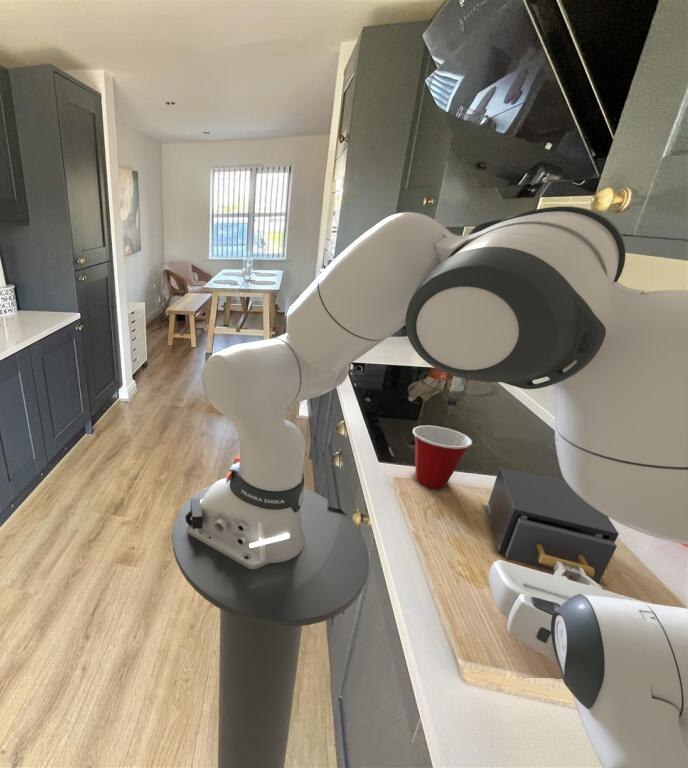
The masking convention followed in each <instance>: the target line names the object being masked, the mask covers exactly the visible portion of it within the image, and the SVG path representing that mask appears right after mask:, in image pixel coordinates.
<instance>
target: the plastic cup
mask: <svg viewBox="0 0 688 768" xmlns="http://www.w3.org/2000/svg"><path fill="white" fill-rule="evenodd" d="M412 434H413V437H414V446H415V447H414V449H415V451H414V455H415V456H414V465H415V472H414V473H415V479H416V481H417V482H418V483H419V484H420V485H422V486H424V487H426V488H430V489H433V490H434V489H437V490H439V489H443V488H445V487H446V485H447V484H448V482H449V481H450V480H451V479H450V478H451V476H453V474H454V472H455V470H456V468H457V466H458V465H459V463H460V461H461V459H462V458H463V456H464V454H465V452H466V451H467V450H468V449H469V447H471V446H472V445H473V440H472V439H471V438H470V437H469V436H468V435H466V434H464V433H462V432H460V431H457V430H454V429H452V428H447V427H442V426H438V425H429V424H427V425H426V424H425V425H418V426H416V427H413V429H412Z"/></svg>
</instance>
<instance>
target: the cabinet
mask: <svg viewBox="0 0 688 768" xmlns="http://www.w3.org/2000/svg"><path fill="white" fill-rule="evenodd" d="M486 509H487V514H488V517H489V521H490V526H491V528H492V529H491V530H492V532H493V536H494V540H495V544H496V548H497V552H498V553H499V554H501V555H505V554H506V551H507V548H508V542H509V539H510V537H511V534H512V531H513V528H514V526H515V523H516V520H517V517H518V515H519V514H521V515H525V516H529V517H533V518H537V519H541V520H545V521H550V522H554V523H558V524H562V525H566V526H570V527H574V528H579V529H583V530H587V531H591V532H595V533H599V534H603V537H602V539H606V540H610V541H614V543H615V544H616V541H617V539H618V536H619V531H617V529H616V527H615V526H614V523H613V522H612V521H611V518H609V517H607V516H606V515H604V514H602V513H601V512H599V511H598V510H596V509H595V508H593V507H592V506H590V505H589V504H588V503H586V502H585V501H584V500H583V499H582V498H581V497H579V496H578V495H577V494H576V493H575V492H574V491H573V490H572V488H571V487H570V486H569V485H568V483H567V482H566V481H565V479H559V478H555V477H549V476H544V475H540V474H536V473H535V474H534V473H530V472H525V471H519V470H515V469H510V468H504V467H499V469H498V471H497V475H496V478H495V480H494V483H493V486H492V490H491V493H490V496H489V500H488V502H487V505H486Z"/></svg>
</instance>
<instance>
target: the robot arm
mask: <svg viewBox="0 0 688 768" xmlns="http://www.w3.org/2000/svg"><path fill="white" fill-rule="evenodd" d="M625 262H626V245H625V241H624V238H623V235H622V232H621V231H620V230H619V228H618V227H617V225H616V224H615V223H614V221H611V220H610V219H609V218H608V217H607V216H605V215H603V214H601V213H600V212H597V211H596V210H595V211H594V210H593V209H588V208H585V207H579V206H570V205H569V206H568V205H567V206H566V205H565V206H563V205H562V206H561V205H560V206H551V207H542V208H537V209H531V210H528V211H524V212H521V213H517V214H513V215H510V216H507V217H503V218H499V219H494V220H491V221H487V222H483V223H480V224H478V225H476V226H475V227H474V228H473V229H471V231H469V233H468V234H467V235H466V234H465V235H457V234H454V233H453V232H451V231H450V230H449V229H447V227H446V226H444V225H443V224H442V223H440V222H439V221H438V220H436V219H435V218H433V217H431V216H430V215H429V216H428V215H426V214H423V213H420V212H412V211H405V212H399V213H395V214H392V215H389V216H387V217H385V218H384V219H382V220H381V221H379V222H378V223H376V224H375V225H374V226H372V227H371V228H369V229H368V230H367V231H364V233H363V234H361V235H360V236H359V237H358V238H356V239H355V240H354V241H353V242H352V243H351V244H349V245H348V246H347V247H346V248H345V249H344V250H342V252H341V253H339V254H338V255H337V256H336V257H335V258H334V259H333V260H332V261H331V262H330V263H329V265H327V267H325V268H324V269H323V271H322V272H321V273H320V274H319V275H318V276H317V277H316V278H315V279H314V281H312V283H311V284H310V285H309V286H307V288H306V289H305V290H304V291H303V292H302V294H301V295H300V296H299V297H298V298H297V299H296V300H295V301H294V303H293V304H291V306H290V307H289V309H288V312H287V313H286V333H283V334H281V335H279V336H276V337H272V338H267V339H262V340H255V341H249V342H245V343H238V344H235V345H232V346H230V347H227V348H225V349H222V350H221V351H218V352H216V353H214V354H212V355H210V356H209V358H208V359H207V361H206V363H205V365H204V368H203V372H202V377H201V378H202V379H201V382H202V389H203V392H204V395H205V397H206V399H207V401H208V403H209V404H210V405H211V406H212V407H213V408H214V409H215V410H216V411H217V412H219V413H220V414H222V415H225V416H226V417H227V418H228V419H230V420H231V422H232V424H234V426H235V428H236V431H237V434H238V443H239V444H238V447H239V448H238V449H239V453H238V454H237V455H236V457H235V458H234V459H233V464H232V465H231V466H230V467H229V471H228V473H227V475H226V477H224V478H221V479H218V480H217V481H216V482H214V483H213V484H212V485H210V486H211V487H210V486H209V487H210V488H209V489H208V491H207V492H206V494H205V495H204V497H203V498H202V499H201V500H200V498H199V499H191V511H190V512H189V513H188V514H187V515H186V522H187V531H188V533H189V534H190V535H191V536H193V537H195V538H196V539H198V540H200V541H202V542H203V543H205V544H207V545H209V546H210V547H212V548H214V549H216V550H217V551H219V552H221V553H223V554H224V555H226V556H228V557H230V558H231V559H233V560H235V561H237V562H238V563H240V564H242V565H244V566H245V567H247V568H249V569H258V568H260V567H262V566H264V565H266V564H270V563H279V562H284V561H288V560H290V559H292V558H294V557H296V556H297V555H298V554H299V553H300V552H301V551H302V549H303V547H304V543H305V537H304V533H303V529H302V524H301V512H300V507H301V505H302V503H303V496H304V488H305V474H304V472H303V471H304V463H305V454H306V439H305V436H304V434H303V432H302V431H301V430H300V428H299V427H298V426H297V425H296V424H294V423H293V422H292V421H289V420H287V419H285V414H284V413H285V409H286V407H287V406H288V405H291V404H296V403H300V402H303V401H308V400H311V399H315V398H319V397H320V396H323V395H325V394H327V393H329V392H331V391H333V390H334V389H336V388H338V387H340V386H341V385H343V383H344V382H345V381H346V379H347V378H348V375H349V372H350V366H351V364H353V363H354V362H355V361H357V360H359V359H360V358H361V357H362V356H364V355H366V353H368V352H369V351H371V350H372V349H374V348H375V347H376V346H378V345H380V344H382V342H384V341H385V340H386V339H388V338H389V337H391V336H393V335H394V334H395V333H397V332H398V331H400V330H401V329H403V328H404V327H405V331H406V335H407V338H408V341H409V343H410V345H411V347H412V349H414V351H415V353H417V355H418V356H419V357H420V358H421V359H422V360H423V361H424V362H426V363H427V364H428V365H429V366H431V367H433V368H435V369H436V370H438V371H440V372H442V373H445V374H447V375H450V376H453V377H457V378H460V379H463V380H469V381H474V382H483V383H502V384H505V385H509V386H511V387H515V388H518V389H522V390H537V389H542V388H547V387H550V386H552V388H553V396H554V441H555V450H556V456H557V462H558V465H559V469H560V473H561V475H562V478H563V480H565V481H566V482H567V483H568V485H569V486H570V487H571V488H572V490H573V491H574V492H575V493H576V494H577V495H578V496H579V497H581V498H582V499H583V500H584V501H585V502H586V503H588V504H589V505H590V506H592V507H593V508H595V509H596V510H598V511H599V512H601V513H602V514H604V515H606V516H607V517H608V518H609V519H610V520H613V521H615V522H617V523H618V524H621V525H623V526H625V527H627V528H629V529H632V530H634V531H636V532H640V533H642V534H644V535H647V536H650V537H654V538H656V539H659V540H664V541H668V542H672V543H675V544H680V545H684V546H688V289H687V290H686V289H666V290H665V289H664V290H653V291H645V290H643V289H636V288H635V289H634V288H631V287H628V286H625V285H623V284H622V283H620V282H618V281H619V279H620V277H621V275H622V274H623V270H624V268H625ZM543 378H547V379H548V380H545V381H542V382H538V383H534V381H536V380H540V379H543ZM488 583H489V588H490V590H491V594H492V597H493V599H494V600H493V601H494V603H495V605H496V607H497V609H498V610H499V611H500V613H501V614H502V615H503V616H504V617H505V618H506V619H507V624H506V630H507V633H508V634H509V636H510V637H511V638H512V639H514V640H515V641H518V642H519V643H521V644H523V645H525V646H526V647H528V648H530V649H532V650H534V651H535V652H537V653H539V654H540V655H542V656H544V657H546V658H547V659H548V660H550V661H551V662H552V663H554V664H555V665H557V666H558V668H559V671H560V674H561V678H562V681H563V683H564V685H565V687H566V688H567V689H568V690H569V691H570V693H571V694H572V697H573V701H574V705H575V707H576V710H577V713H578V716H579V719H580V721H581V725H582V726H583V729H584V731H585V733H586V736H587V738H588V740H589V743H590V745H591V748H592V749H593V751H594V754H595V755H596V757H597V759H598V761H599V763H600V766H601V767H602V768H688V608H686V607H681V606H671V605H667V604H666V605H665V604H658V603H652V602H647V601H645V600H641V599H639V598H638V599H637V598H634V597H630V596H627V595H623V594H619V593H616V592H613V591H609V590H607V589H603V586H601V585H600V584H599V583H598V584H597V583H596V582H595V581H593V580H592V579H591V578H590V577H588V576H586V574H585V572H584V570H583V568H580V567H575V566H572V565H568V564H565V563H562V562H558V561H556V563H555V565H554V572H553V574H551V573H547V572H545V571H544V572H543V571H540V570H537V569H532V568H530V567H527V566H523V565H519V564H517V563H513V562H510V561H506V560H502V559H498V560H496V561H494V562H492V565H491V567H490V569H489V573H488Z"/></svg>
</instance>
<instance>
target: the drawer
mask: <svg viewBox="0 0 688 768" xmlns="http://www.w3.org/2000/svg"><path fill="white" fill-rule="evenodd" d="M602 537H603V534H599V533H595V532H591V531H587V530H583V529H579V528H574V527H570V526H566V525H562V524H558V523H554V522H550V521H545V520H541V519H537V518H533V517H529V516H525V515H521V514H519V515H518V517H517V520H516V523H515V526H514V528H513V531H512V534H511V537H510V539H509V542H508V548H507V551H506V554H504V556H505V558H506V560H510V561H512V562H516V563H520V564H524V565H528V566H531V567H533V568H534V567H535V568H538V569H541V570H544V571H547V572H551V573H555V572H554V565H555V563H556V561H558V562H562V563H565V564H568V565H572V566H575V567H580V568H583V570H584V572H585V574H586V576H588V577H590V578H591V579H592V580H593V581H595V582H596V583H597V584H599V583H600V582H601V580H602V577H603V575H604V574H605V572H606V569H607V567H608V565H609V564H610V561H611V560H612V558H613V555H614V554H615V551H616V549H617V547H618V546H617V544H616V542H615V543H614V541H610V540H606V539H602Z"/></svg>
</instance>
